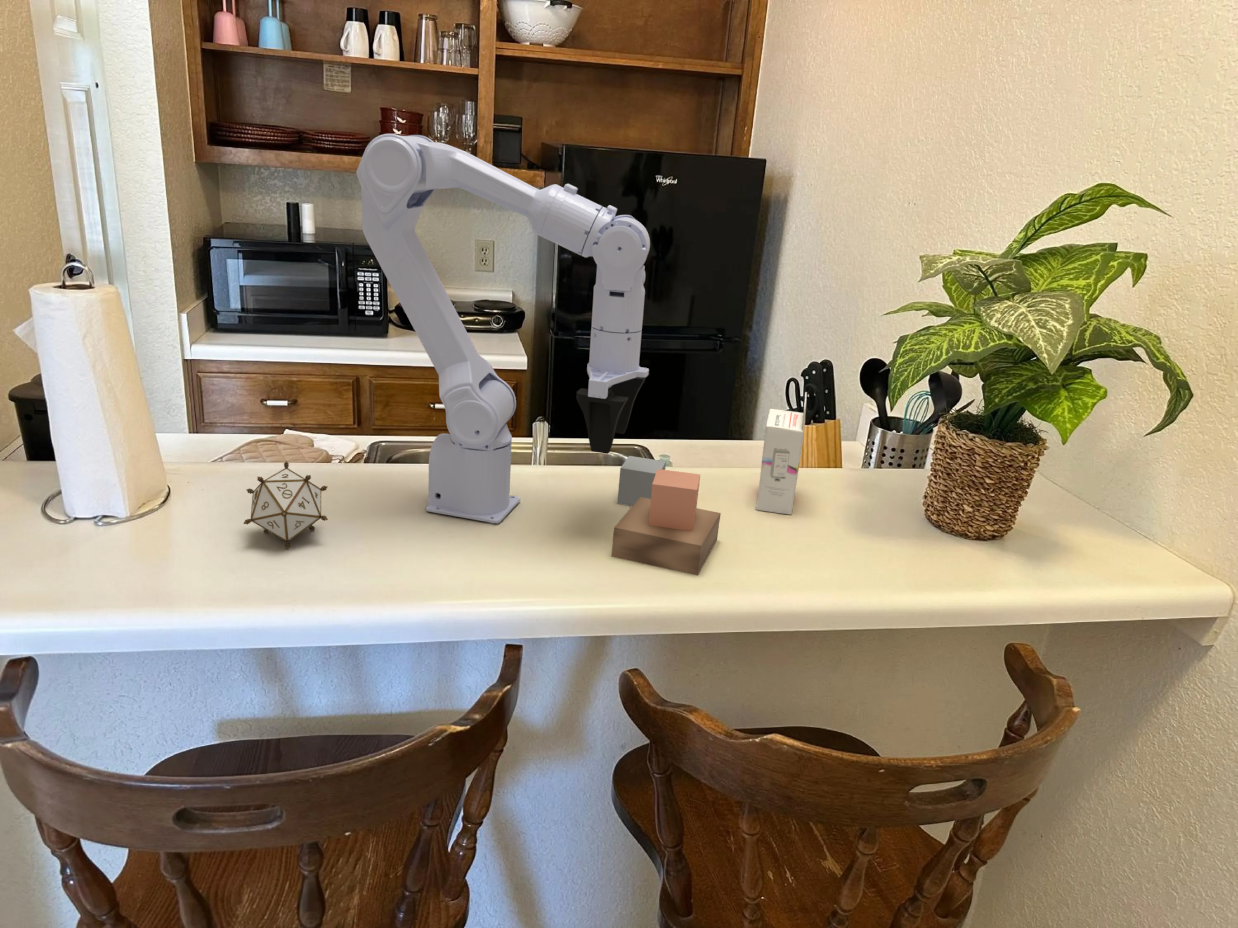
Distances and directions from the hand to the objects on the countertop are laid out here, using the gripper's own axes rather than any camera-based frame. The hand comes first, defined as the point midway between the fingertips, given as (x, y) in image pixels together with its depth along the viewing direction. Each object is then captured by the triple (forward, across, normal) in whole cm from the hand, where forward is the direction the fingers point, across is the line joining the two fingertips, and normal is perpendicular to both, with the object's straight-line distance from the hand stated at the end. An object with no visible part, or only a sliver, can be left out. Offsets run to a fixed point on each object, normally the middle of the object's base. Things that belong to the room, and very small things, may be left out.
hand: (608, 441), depth 104 cm
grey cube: (+11, +9, -3) cm, 14 cm away
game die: (+10, -18, +31) cm, 37 cm away
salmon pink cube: (+7, -4, -9) cm, 12 cm away
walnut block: (+11, -4, -9) cm, 15 cm away
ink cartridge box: (+11, +16, -20) cm, 28 cm away
